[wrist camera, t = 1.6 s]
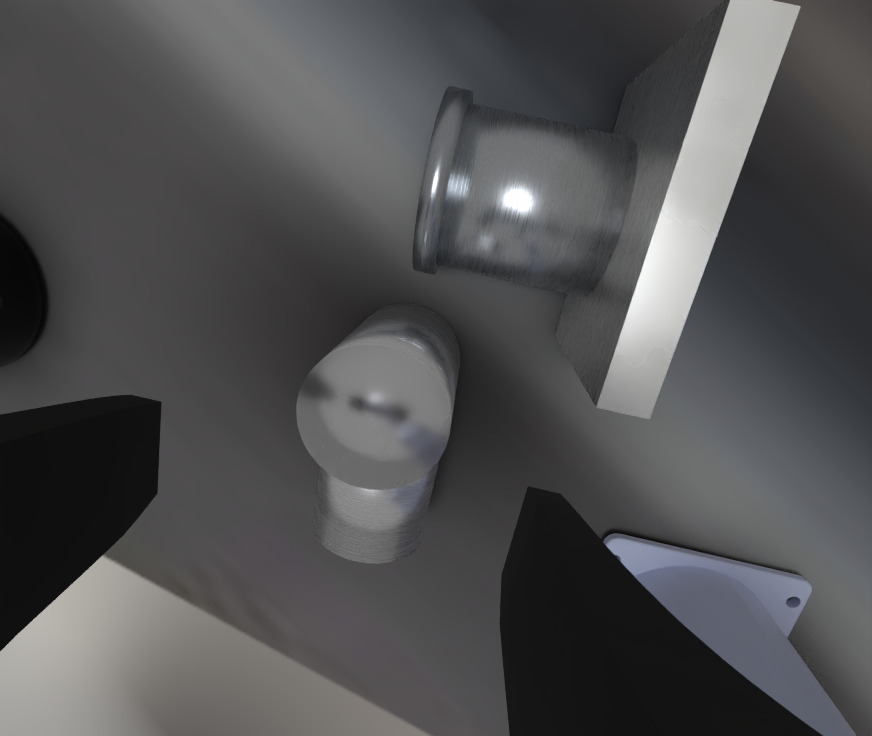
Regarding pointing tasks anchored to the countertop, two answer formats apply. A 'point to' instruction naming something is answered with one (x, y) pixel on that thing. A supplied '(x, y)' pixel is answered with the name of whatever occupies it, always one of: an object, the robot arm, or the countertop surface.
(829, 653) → the countertop surface
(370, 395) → the elbow
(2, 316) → the supplement bottle
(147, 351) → the countertop surface
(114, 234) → the countertop surface
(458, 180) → the duct stub
